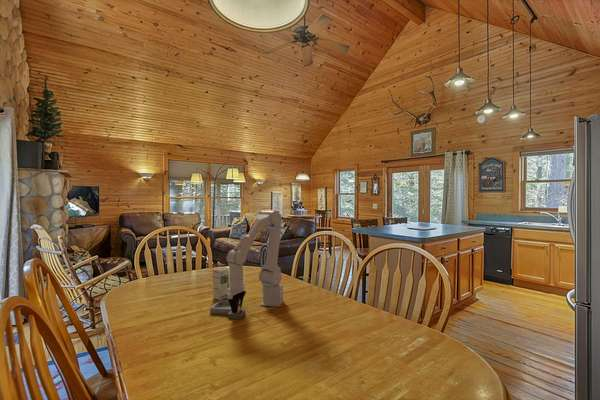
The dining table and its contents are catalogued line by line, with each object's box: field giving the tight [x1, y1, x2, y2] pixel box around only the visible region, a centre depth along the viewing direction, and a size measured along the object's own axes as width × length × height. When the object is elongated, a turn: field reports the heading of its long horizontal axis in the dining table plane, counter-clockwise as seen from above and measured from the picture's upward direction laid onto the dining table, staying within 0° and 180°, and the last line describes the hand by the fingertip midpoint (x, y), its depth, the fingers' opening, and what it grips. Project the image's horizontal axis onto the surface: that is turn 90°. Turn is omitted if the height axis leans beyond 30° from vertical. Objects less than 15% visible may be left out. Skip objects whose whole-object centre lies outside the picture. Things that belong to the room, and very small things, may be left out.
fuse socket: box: [227, 308, 246, 320], centre depth 130 cm, size 6×6×2 cm
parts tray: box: [209, 299, 231, 316], centre depth 137 cm, size 10×10×2 cm
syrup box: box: [212, 267, 230, 301], centre depth 154 cm, size 6×6×14 cm
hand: (236, 310), depth 130 cm, fingers open, 4 cm apart
